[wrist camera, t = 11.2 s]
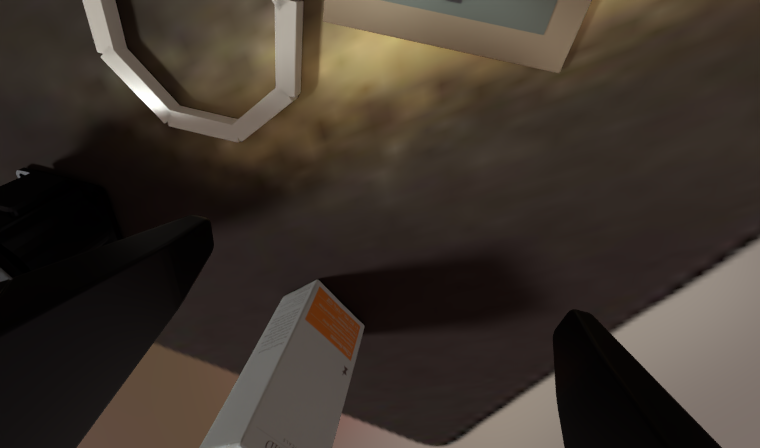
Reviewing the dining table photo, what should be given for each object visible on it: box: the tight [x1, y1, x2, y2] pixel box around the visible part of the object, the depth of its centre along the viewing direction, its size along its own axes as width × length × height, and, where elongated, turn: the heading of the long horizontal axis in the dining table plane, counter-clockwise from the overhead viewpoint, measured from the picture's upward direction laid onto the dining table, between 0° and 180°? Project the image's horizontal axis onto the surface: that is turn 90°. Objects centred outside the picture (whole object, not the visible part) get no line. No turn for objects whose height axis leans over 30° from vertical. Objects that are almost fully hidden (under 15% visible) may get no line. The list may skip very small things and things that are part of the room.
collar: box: [83, 0, 304, 143], centre depth 17 cm, size 11×11×1 cm
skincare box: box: [200, 280, 365, 448], centre depth 24 cm, size 6×4×12 cm
